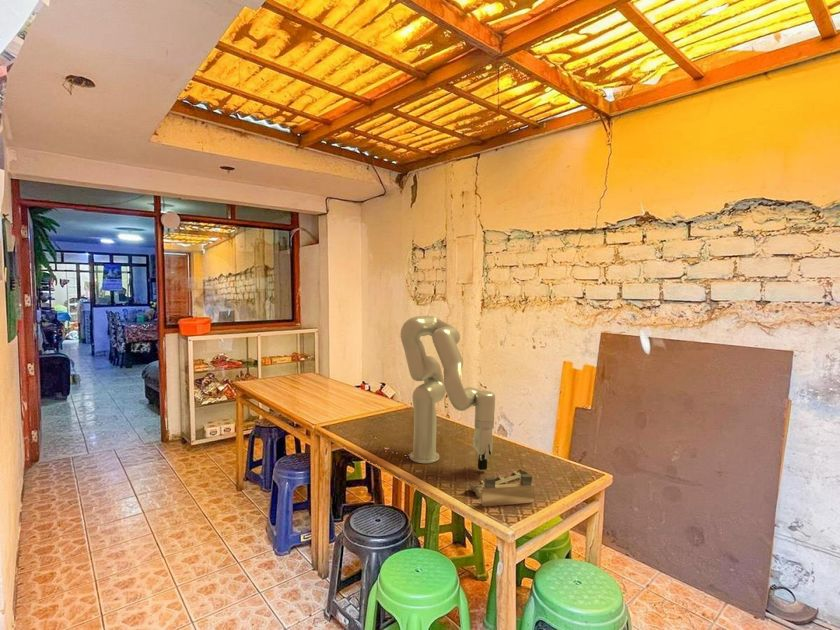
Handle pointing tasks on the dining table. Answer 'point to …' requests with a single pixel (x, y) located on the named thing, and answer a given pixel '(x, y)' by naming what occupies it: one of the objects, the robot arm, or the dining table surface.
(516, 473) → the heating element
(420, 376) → the robot arm
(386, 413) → the dining table surface
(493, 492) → the notched board
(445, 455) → the dining table surface
